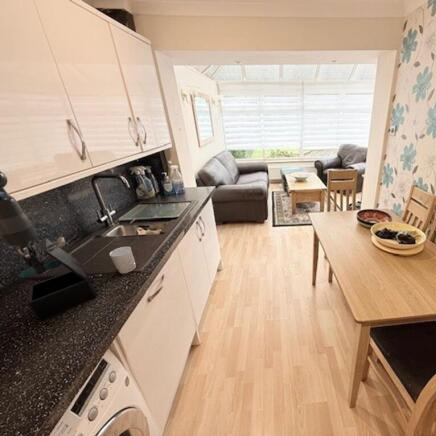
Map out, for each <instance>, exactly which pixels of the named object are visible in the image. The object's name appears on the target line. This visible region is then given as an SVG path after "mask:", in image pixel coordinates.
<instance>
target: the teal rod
mask: <svg viewBox="0 0 436 436" xmlns="http://www.w3.org/2000/svg"><path fill="white" fill-rule="evenodd" d="M44 264H45V265H43V266H44V268H45V269H46V271H49V270H52V269H55V268H58V267H60V266H62V264H60V263H59V262H57V261H56V260H54V261H51V262H48V263H44ZM35 275H38V274H37V272H36V271H35V269H34V268H33V267H32V268H30V269H27V270H24V271H22V272H20V274H19V277H20V278H23V279H26V278H29V277H31V276H35Z"/></svg>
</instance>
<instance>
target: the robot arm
mask: <svg viewBox="0 0 436 436" xmlns="http://www.w3.org/2000/svg"><path fill="white" fill-rule="evenodd" d="M7 185H8V177H7V176H6V174H5V173H4V172H3V171H1V170H0V238H1V240H2V241H3V243H4V244H5V245H6V246H7V247H8V246H9V247H14V246H16V247H17V246H18V248H17V251H18V254H19V255H21V259H22V260H23V261H24V262H25V264H27V265H28V267H30V268H32V269H33V268H34V269H35V271H36V272H37V274H36V275H41V274H45V273H46V272H47V270H46V269H45V268H44V266H43V265H45V264H46V263H45V262H44V260H43V259H42V255H41V252H40V249H39V247H38V246H37V242H36V241H35V240H36V239H37V238H38V237H39V234H38V232H37V230H36V229H35V227H34V225H33V223H32V222H31V221H30V219H29V217H28V216H27V214H26V213H25V212H24V211H23V209H22V207H21V206H20V204H19V202H18V201H17V199H16V198H15V197H14V196H12V195H11V194H9V193H8V192H7V190H6V188H5V187H6V186H7Z"/></svg>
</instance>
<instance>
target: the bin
mask: <svg viewBox="0 0 436 436" xmlns="http://www.w3.org/2000/svg"><path fill="white" fill-rule="evenodd" d="M85 273H86V276H87V279H86V280H84V279H82V278H81V277H79V276H78V275H76V274H75V273H73V272H72V271H70V270H69V271H67V272H64V273H62V274H59V275H56V276H53V277H50V278H48V279H45V280H42V281H40V282H36V283H34V284H31V285H30V286H29V292H28V305H29V307H30V308H31V309H32V311H33V312H34V314H35V315H36V316H37V318H38V319H39V321H40V322H43V321H45V320H47V319H49V318H51V317H55V316H57V315H59V314H61V313H63V312H65V311H68V310H70V309H73V308H75V307H77V306H79V305H82V304H84V303H86V302H89V301H91V300H93V299H96V294H95V291H94V287H93V284H92V281H91V279H90V277H89V276H88V273H87V272H86V271H85Z"/></svg>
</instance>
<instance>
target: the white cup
mask: <svg viewBox="0 0 436 436" xmlns="http://www.w3.org/2000/svg"><path fill="white" fill-rule="evenodd" d="M109 257H110V259H111V261H112V262H113V264H114V266H115V268H116V270H117V271H118V273H119V274H128V273H130V272H132V271H134V270H135V269H136V268H137V263H136V260H135V257H134V254H133V251H132V248H131V246H120V247H117V248H115V249H113V250H112V251H110V252H109Z"/></svg>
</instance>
